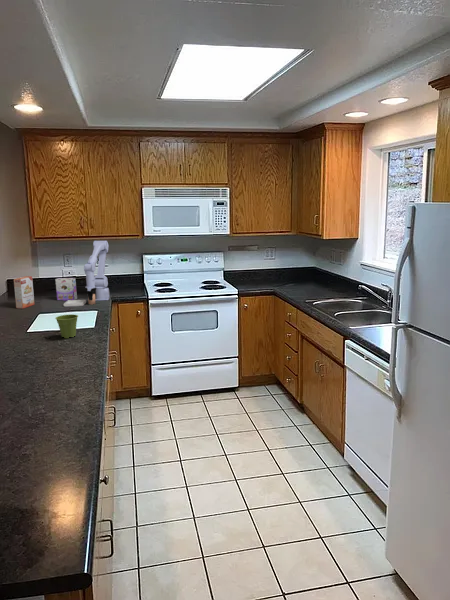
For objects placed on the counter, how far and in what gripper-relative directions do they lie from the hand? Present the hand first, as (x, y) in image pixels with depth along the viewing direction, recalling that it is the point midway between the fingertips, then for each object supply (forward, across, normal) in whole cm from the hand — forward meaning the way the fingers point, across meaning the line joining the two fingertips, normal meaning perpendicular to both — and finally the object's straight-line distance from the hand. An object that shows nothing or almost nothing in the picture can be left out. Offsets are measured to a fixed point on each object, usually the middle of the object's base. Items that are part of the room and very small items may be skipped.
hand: (91, 299), depth 352 cm
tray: (+3, 0, -12) cm, 13 cm away
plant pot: (+4, +88, +4) cm, 88 cm away
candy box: (+4, -18, -22) cm, 29 cm away
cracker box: (+4, +2, -46) cm, 46 cm away
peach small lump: (+3, 0, 0) cm, 4 cm away
